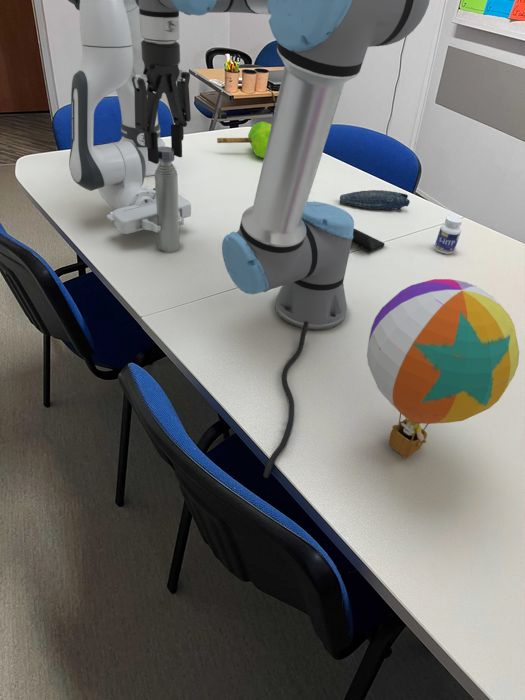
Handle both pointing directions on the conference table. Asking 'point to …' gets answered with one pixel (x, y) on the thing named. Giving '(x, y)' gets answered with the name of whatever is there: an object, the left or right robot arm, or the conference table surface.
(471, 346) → the toy
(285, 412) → the conference table surface
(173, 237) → the bottle
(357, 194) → the fish model
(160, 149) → the cap
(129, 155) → the left robot arm
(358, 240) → the handheld gaming console
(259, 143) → the decorative tree
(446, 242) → the pill bottle
